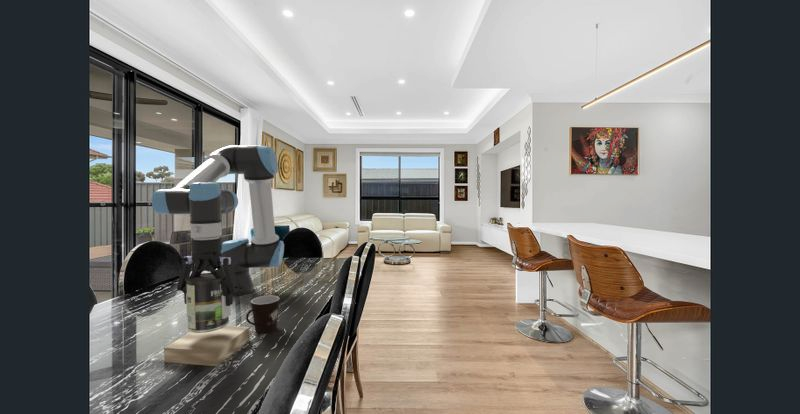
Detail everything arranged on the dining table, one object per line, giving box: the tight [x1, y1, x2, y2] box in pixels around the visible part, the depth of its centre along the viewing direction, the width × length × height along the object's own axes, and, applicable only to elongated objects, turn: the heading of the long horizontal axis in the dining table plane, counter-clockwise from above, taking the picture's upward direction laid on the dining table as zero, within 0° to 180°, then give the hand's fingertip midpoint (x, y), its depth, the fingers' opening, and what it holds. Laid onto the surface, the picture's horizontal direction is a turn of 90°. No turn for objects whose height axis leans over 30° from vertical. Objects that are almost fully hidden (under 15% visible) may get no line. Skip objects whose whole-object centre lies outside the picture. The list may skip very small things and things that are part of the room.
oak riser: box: [163, 325, 251, 367], centre depth 94 cm, size 15×15×4 cm
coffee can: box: [186, 272, 230, 333], centre depth 94 cm, size 10×10×14 cm
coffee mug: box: [245, 294, 280, 335], centre depth 107 cm, size 12×9×10 cm
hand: (208, 315), depth 94 cm, fingers closed on coffee can, 10 cm apart
